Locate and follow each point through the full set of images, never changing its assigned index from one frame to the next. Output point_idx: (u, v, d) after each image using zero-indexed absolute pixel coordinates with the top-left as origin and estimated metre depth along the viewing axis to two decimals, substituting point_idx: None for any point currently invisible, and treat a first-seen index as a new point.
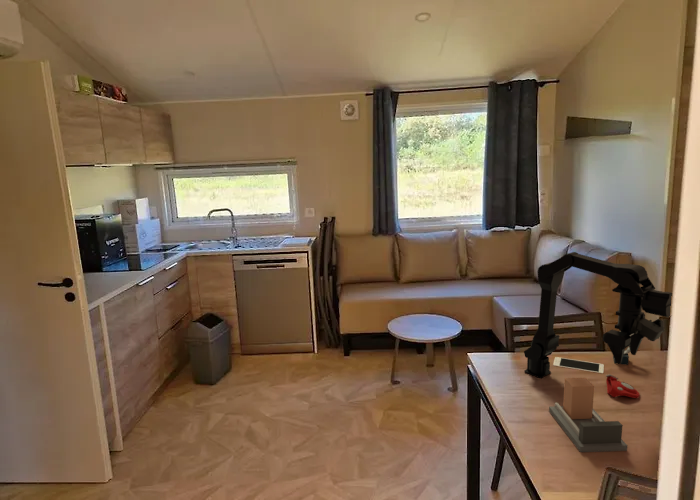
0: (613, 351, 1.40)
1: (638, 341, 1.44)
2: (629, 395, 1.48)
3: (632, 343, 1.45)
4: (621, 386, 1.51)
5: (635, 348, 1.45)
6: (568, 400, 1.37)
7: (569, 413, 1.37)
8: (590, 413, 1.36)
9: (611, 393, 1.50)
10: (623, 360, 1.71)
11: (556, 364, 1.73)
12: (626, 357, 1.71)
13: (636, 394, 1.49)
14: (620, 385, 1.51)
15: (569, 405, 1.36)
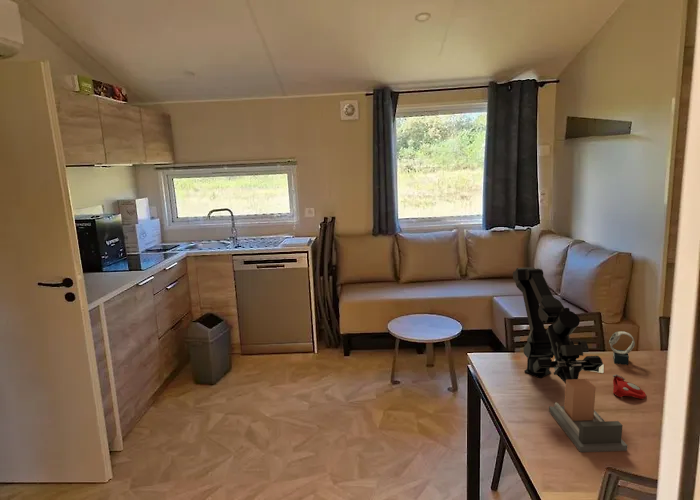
0: (565, 381, 1.42)
1: (573, 376, 1.41)
2: (635, 395, 1.48)
3: None
4: (627, 386, 1.50)
5: None
6: (569, 402, 1.36)
7: (570, 414, 1.36)
8: (591, 414, 1.35)
9: (616, 393, 1.50)
10: (623, 360, 1.71)
11: None
12: (626, 357, 1.71)
13: (642, 395, 1.49)
14: (626, 385, 1.51)
15: (570, 407, 1.36)
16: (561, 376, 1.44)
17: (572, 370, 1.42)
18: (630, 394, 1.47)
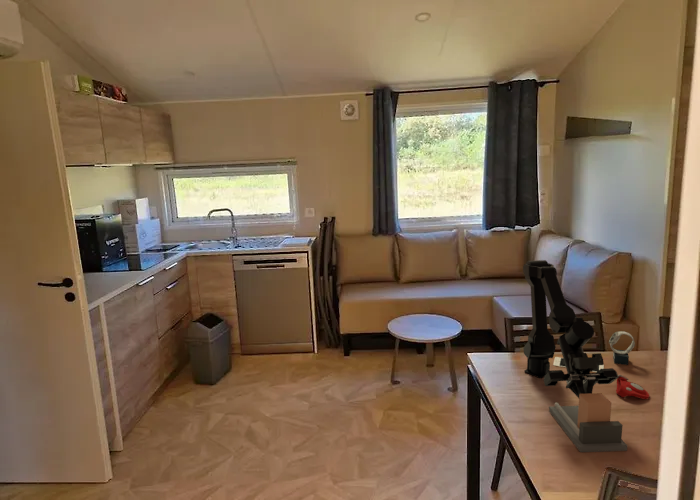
0: (578, 395, 1.34)
1: (587, 390, 1.33)
2: (638, 396, 1.47)
3: None
4: (630, 386, 1.50)
5: None
6: (583, 418, 1.28)
7: None
8: None
9: (620, 393, 1.50)
10: (623, 360, 1.71)
11: (556, 364, 1.73)
12: (626, 357, 1.71)
13: (645, 395, 1.48)
14: (629, 385, 1.50)
15: None
16: (574, 390, 1.35)
17: (586, 384, 1.34)
18: (633, 394, 1.47)
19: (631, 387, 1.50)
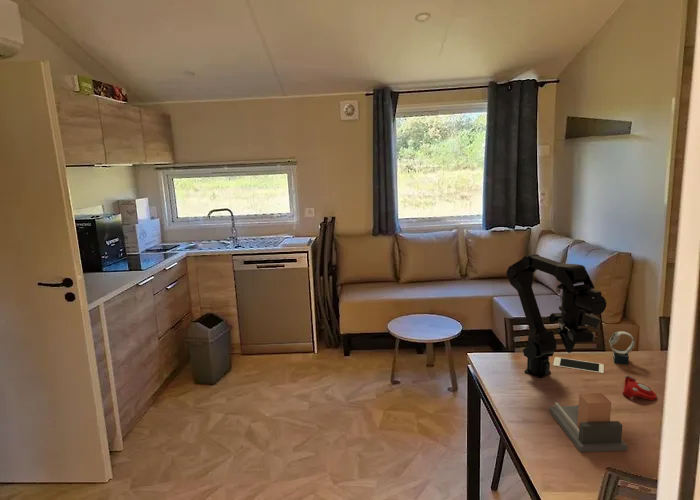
0: (568, 343, 1.51)
1: None
2: (644, 396, 1.47)
3: None
4: (637, 387, 1.50)
5: None
6: (583, 418, 1.28)
7: None
8: None
9: (626, 393, 1.49)
10: (623, 360, 1.71)
11: (556, 364, 1.73)
12: (626, 357, 1.71)
13: (652, 396, 1.48)
14: (636, 386, 1.50)
15: None
16: (567, 338, 1.50)
17: None
18: (639, 395, 1.47)
19: (638, 388, 1.49)
